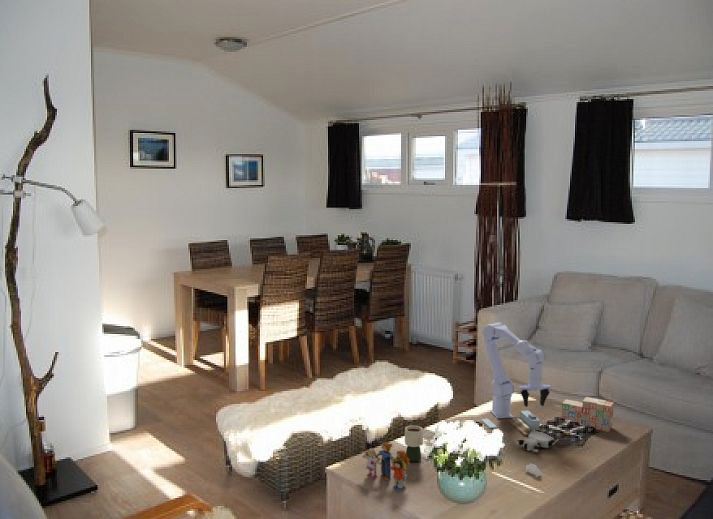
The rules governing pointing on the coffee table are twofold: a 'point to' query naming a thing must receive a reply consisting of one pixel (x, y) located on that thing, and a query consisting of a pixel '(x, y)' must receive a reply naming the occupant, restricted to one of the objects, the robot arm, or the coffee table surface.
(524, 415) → the light blue block
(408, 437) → the character mug
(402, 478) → the doll family
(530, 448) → the robot toy
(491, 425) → the wing plate
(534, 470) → the car cutout
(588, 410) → the stack of blocks
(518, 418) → the wooden pallet
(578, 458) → the coffee table surface
